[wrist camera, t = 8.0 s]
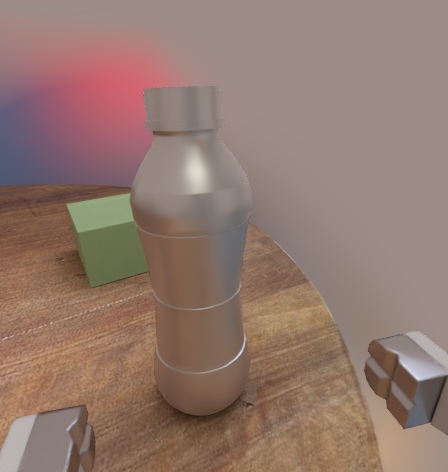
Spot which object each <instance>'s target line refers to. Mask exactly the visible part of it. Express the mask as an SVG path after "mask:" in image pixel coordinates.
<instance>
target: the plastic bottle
mask: <svg viewBox="0 0 448 472" xmlns="http://www.w3.org/2000/svg"><path fill="white" fill-rule="evenodd" d="M143 91H144V94H143V97H144V104H145V111H146V119H147V120H145V127H146V130H150V131H153V144H152V146H151V148H150V149H149V151H148V153H147V155H146V157H145V158H144V160H143V162H142V163H141V165H140V168H139V170H138V172H137V175H136V177H135V180H134V182H133V184H132V190H131V196H130V206H131V210H132V215H133V219H134V221H135V225H136V228H137V231H138V235H139V238H140V241H141V244H142V248H143V251H144V254H145V257H146V261H147V264H148V270H149V275H150V280H151V285H152V288H153V295H154V300H155V307H156V337H157V341H156V346H155V360H154V374H155V379H156V382H157V384H158V387H159V389H160V392H161V394H162V396H163V397H164V399H165V400H166V402H167V403H168V404H169V405H170V406H172V407H174V408H175V409H177V410H179V411H181V412H184V413H187V414H190V415H196V416H205V415H210V414H214V413H217V412H219V411H221V410H223V409H225V408H226V407H228V406H229V405H230V404H232V403H233V402H234V401H235V400H236V399H237V398H238V397H239V396H240V394H241V393H242V392H243V389H244V387H245V385H246V381H247V377H248V373H249V368H250V355H249V349H248V343H247V339H246V335H245V332H244V326H243V315H242V305H241V278H242V265H243V253H244V247H245V241H246V235H247V228H248V222H249V213H250V210H251V198H252V193H251V190H250V186H249V182H248V179H247V176H246V174H245V173H244V171H243V170H242V168H241V167H240V165H239V163H238V162H237V160H236V159H235V158H234V157H233V155H232V154H231V152H230V151H229V150H228V149H227V147H226V146H225V145H224V144H223V142H222V141H221V139H220V134H219V128H221V127H224V126H225V118H224V117H222V96H221V92H220V87H215V86H213V87H212V86H200V87H199V86H196V87H163V88H148V89H143Z"/></svg>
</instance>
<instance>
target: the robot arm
mask: <svg viewBox="0 0 448 472" xmlns="http://www.w3.org/2000/svg"><path fill="white" fill-rule="evenodd" d="M368 352H369V353H370V354H371V356H370V357H369V359H368V360H367V361H366V363H365V369H364V371H365V375H366V379H367V381H368V383H369V385H370V387H371V388H372V390H373V391H374V392H375V393H376V395H378V396H380V397H382V398H383V399H385V400H386V404H387V409H388V410H389V411H390V412H391V414H392V415H393V416H394V417H395V419H396V420H397V421H398V422H399V424H400V425H401V426H402V427H403V429H407V428H411V427H415V426H419V425H422V424H427V423H431V425H432V426H434V427H435V428H437V429H439V430H440V431H442V432H443V433H445V434H446V435H448V354H447V353H446V352H445V351H444V350H442V349H441V348H440V347H438V346H437V345H436V344H435V343H434V342H432V341H431V340H430V339H429V338H428V337H426V336H425V335H424V334H423V333H420V332H418V331H414V332H409V333H405V334H401V335H395V336H391V337H386V338H382V339H378V340H373V341H372V342H371V343H370V344H369V348H368ZM87 420H88V411H87V408H86V405H78V406H73V407H68V408H63V409H57V410H52V411H47V412H42V413H38V414H33V415H28V416H23V417H18V418H16V419H15V421H14V422H13V423H12V424H11V426H10V428H9V431H8V433H7V436H6V438H5V441H4V443H3V445H2V448H1V450H0V472H91V471H92V469H93V468H94V461H95V435H94V430H93V427H92V425H90V424H88V423H87Z"/></svg>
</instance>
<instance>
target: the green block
mask: <svg viewBox="0 0 448 472" xmlns="http://www.w3.org/2000/svg"><path fill="white" fill-rule="evenodd" d="M130 196H131V193H130V194H124V195H118V196H112V197H106V198H100V199H94V200H88V201H82V202H76V203H70V204H66V206H67V210H68V214H69V218H70V222H71V226H72V230H73V234H74V238H75V242H76V246H77V250H78V252H79V255H80V258H81V261H82V264H83V267H84V269H85V272H86V275H87V278H88V281H89V284H90V286H91V288H93V287H96V286H100V285H103V284H107V283H110V282H114V281H117V280H120V279H124V278H127V277H131V276H134V275H138V274H141V273H144V272H148V271H149V270H148V264H147V261H146V257H145V254H144V251H143V248H142V244H141V241H140V238H139V235H138V231H137V228H136V225H135V221H134V219H133V215H132V210H131V206H130Z"/></svg>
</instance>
